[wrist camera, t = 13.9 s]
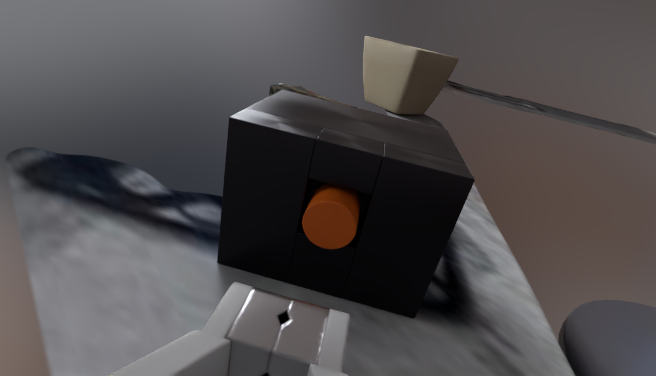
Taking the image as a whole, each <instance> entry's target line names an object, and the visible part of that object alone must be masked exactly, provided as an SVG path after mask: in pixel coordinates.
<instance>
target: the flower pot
mask: <svg viewBox="0 0 656 376" xmlns="http://www.w3.org/2000/svg"><path fill="white" fill-rule="evenodd" d="M458 60H459V58H455V57H451V56H448V55H443V54H440V53H436V52H432V51H428V50H424V49H420V48H415V47H411V46H407V45H403V44H399V43H395V42H391V41H387V40H382V39H377V38H373V37H368V36H365V42H364V55H363V80H364V93H365V100H366V101H367V102H370V103H372V104H374V105H377V106H379V107H381V108H384V109H386V110H388V111H391V112H393V113H396V114H417V115H422V114H424V112H425V111H426V110H427V109H428V108H429V106H430V105H431V104H432V102H433V101H434V100H435V98H436V97H437V95H438V94H439V93H440V91H441V90H442V88H443V87H444V85H445V83H446V82H447V80H448V78H449V77H450V75H451V73H452V72H453V70H454V68H455V66H456V64H457V62H458Z"/></svg>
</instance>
